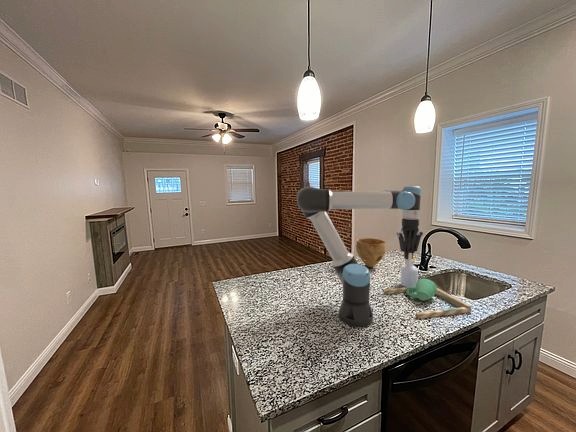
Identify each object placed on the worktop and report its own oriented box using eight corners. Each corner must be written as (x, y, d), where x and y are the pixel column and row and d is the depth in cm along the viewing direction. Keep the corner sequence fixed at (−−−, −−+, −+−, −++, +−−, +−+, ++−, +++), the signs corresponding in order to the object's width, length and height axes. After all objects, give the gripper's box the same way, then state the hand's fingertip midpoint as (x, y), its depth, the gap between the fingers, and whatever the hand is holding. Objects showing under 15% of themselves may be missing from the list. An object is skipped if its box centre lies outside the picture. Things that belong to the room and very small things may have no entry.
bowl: (365, 260, 194) (366, 236, 192) (390, 267, 179) (391, 240, 176) (349, 266, 181) (350, 240, 179) (374, 274, 166) (375, 245, 163)
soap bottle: (420, 286, 144) (423, 246, 141) (409, 289, 141) (411, 247, 138) (408, 281, 153) (410, 242, 150) (397, 283, 149) (398, 244, 146)
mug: (436, 305, 121) (439, 295, 129) (429, 287, 121) (432, 277, 129) (406, 305, 131) (410, 296, 139) (399, 288, 131) (404, 280, 138)
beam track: (418, 318, 111) (418, 312, 110) (384, 292, 137) (384, 287, 137) (471, 312, 115) (471, 306, 115) (428, 288, 142) (428, 283, 142)
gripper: (403, 219, 114) (401, 268, 117) (428, 218, 116) (425, 266, 119) (393, 217, 122) (391, 263, 125) (417, 216, 124) (414, 262, 127)
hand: (408, 265), depth 122 cm, fingers closed
